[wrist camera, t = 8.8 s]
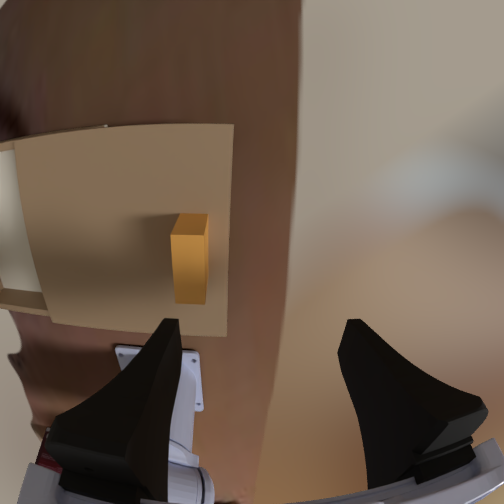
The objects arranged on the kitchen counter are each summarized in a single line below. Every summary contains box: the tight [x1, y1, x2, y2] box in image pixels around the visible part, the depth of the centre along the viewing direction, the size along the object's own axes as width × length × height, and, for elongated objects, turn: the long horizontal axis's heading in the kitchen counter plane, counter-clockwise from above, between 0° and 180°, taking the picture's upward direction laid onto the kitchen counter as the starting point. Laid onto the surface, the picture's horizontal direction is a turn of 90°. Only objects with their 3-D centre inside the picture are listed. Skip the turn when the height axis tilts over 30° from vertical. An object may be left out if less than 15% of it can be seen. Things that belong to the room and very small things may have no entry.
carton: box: [0, 125, 108, 316], centre depth 19 cm, size 14×14×3 cm
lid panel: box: [14, 123, 234, 337], centre depth 16 cm, size 14×14×4 cm
